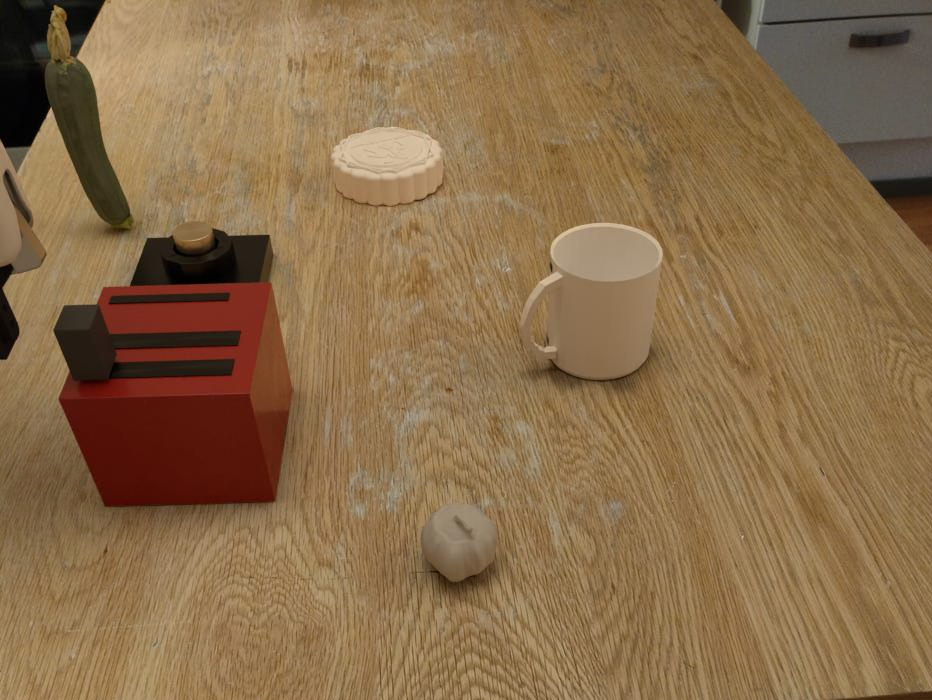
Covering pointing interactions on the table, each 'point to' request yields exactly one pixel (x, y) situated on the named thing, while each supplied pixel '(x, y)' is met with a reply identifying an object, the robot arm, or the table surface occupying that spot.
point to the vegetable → (82, 125)
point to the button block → (206, 262)
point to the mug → (597, 301)
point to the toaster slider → (85, 342)
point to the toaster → (186, 396)
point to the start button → (194, 239)
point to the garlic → (459, 540)
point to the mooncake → (387, 166)
